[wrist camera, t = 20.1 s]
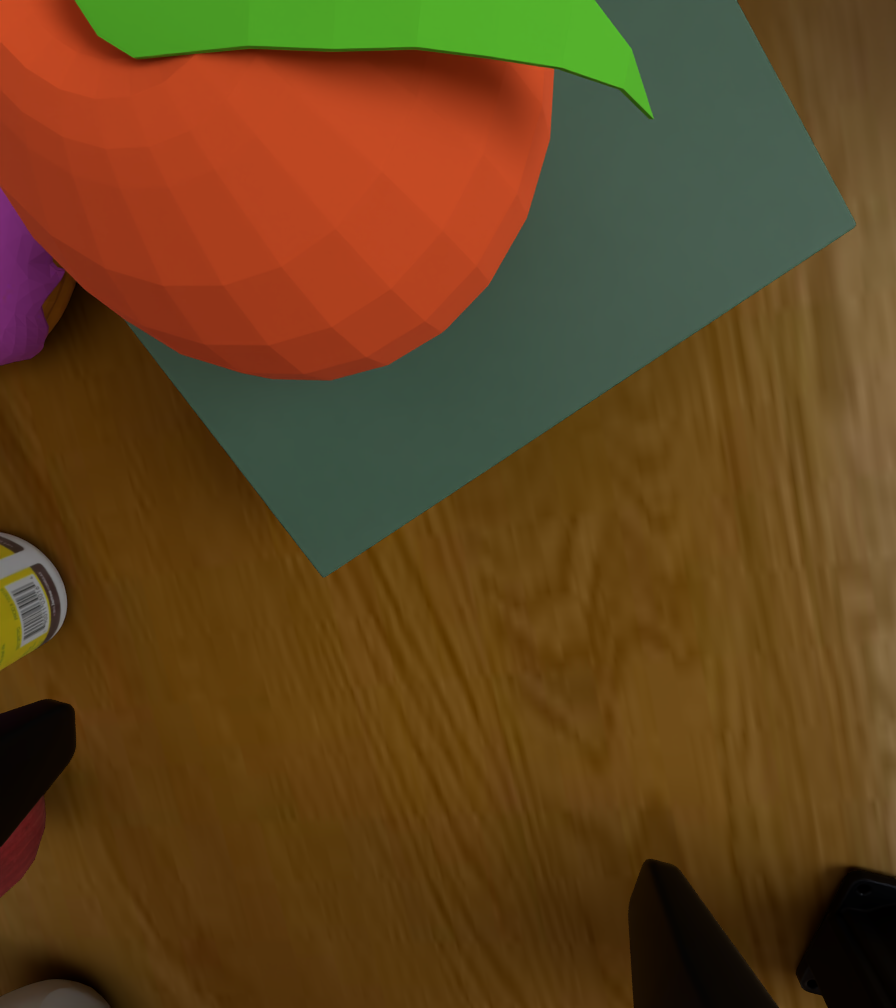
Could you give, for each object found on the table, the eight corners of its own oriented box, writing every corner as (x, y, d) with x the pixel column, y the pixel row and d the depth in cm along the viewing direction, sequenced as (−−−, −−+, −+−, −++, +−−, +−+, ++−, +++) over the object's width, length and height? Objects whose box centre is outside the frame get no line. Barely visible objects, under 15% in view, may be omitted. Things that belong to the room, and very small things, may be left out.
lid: (26, 164, 12) (-8, 150, 11) (492, -394, 8) (488, -467, 8) (334, 566, 13) (322, 578, 13) (833, 234, 10) (859, 225, 9)
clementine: (647, -12, 9) (1051, -1267, 2) (561, 406, 11) (617, 493, 4) (198, -48, 10) (-607, -1031, 3) (195, 347, 12) (-279, 335, 5)
